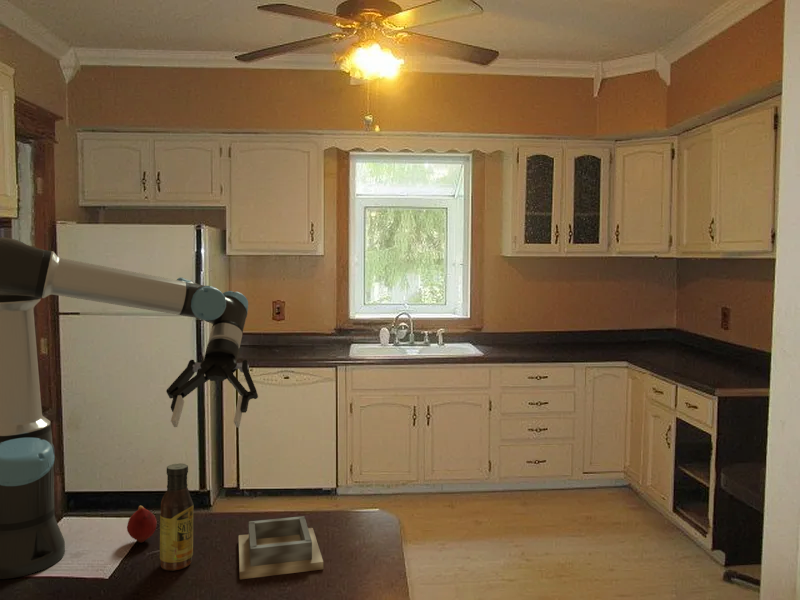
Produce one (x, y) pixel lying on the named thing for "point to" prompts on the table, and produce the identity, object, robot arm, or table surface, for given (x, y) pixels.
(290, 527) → the bottle holder
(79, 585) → the table surface
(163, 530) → the sauce bottle
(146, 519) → the onion
